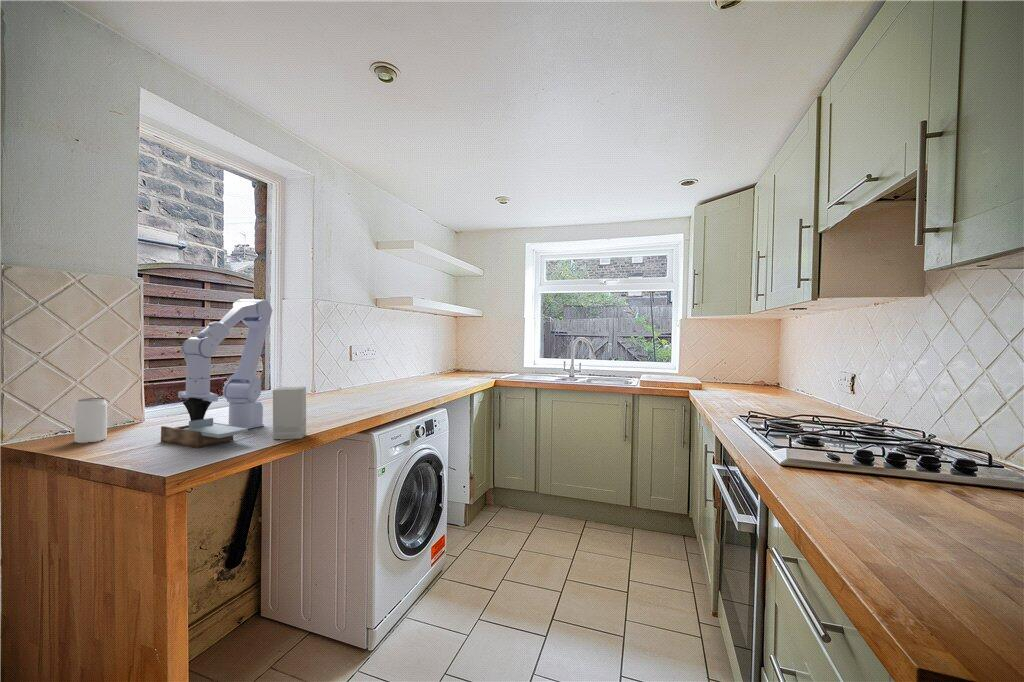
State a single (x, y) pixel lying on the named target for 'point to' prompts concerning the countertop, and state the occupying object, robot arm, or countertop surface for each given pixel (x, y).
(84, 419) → the can
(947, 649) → the countertop surface
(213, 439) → the walnut box
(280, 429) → the skincare box
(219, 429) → the cover plate
